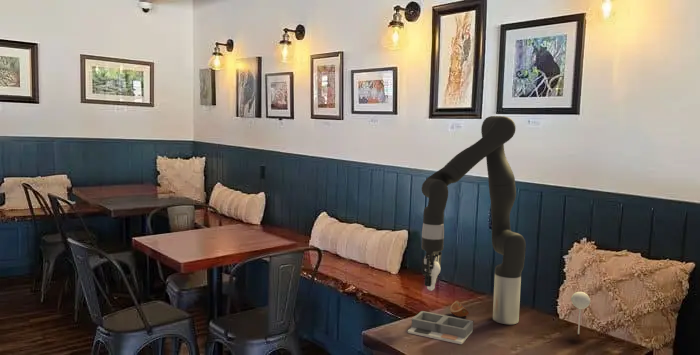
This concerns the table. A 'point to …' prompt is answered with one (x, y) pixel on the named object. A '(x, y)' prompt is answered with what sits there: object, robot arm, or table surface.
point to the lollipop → (580, 303)
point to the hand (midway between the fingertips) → (431, 283)
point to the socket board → (441, 327)
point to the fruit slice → (458, 309)
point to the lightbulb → (434, 275)
